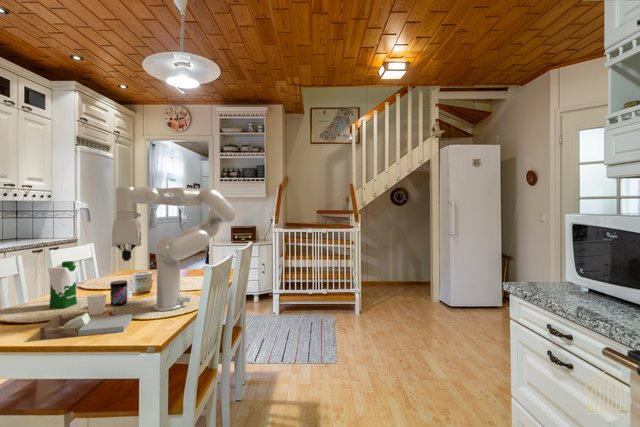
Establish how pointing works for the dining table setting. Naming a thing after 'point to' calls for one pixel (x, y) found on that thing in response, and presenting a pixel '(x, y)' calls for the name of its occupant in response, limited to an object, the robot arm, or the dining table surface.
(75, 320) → the off-white flat block
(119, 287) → the supplement container
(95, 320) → the plate
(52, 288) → the milk carton
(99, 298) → the white cup
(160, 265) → the robot arm
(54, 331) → the box
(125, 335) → the dining table surface
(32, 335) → the dining table surface
